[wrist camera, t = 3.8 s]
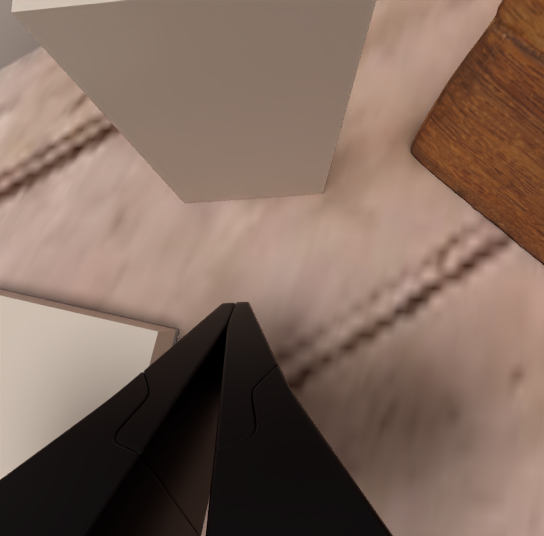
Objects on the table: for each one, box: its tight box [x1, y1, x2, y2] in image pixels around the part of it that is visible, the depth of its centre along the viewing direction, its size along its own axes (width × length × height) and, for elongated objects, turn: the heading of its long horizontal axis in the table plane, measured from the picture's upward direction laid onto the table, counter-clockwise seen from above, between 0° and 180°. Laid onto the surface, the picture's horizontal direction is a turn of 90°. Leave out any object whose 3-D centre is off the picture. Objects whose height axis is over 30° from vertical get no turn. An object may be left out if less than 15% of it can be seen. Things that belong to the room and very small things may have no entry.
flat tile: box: [0, 289, 179, 479], centre depth 15 cm, size 11×8×3 cm
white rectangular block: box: [12, 0, 376, 203], centre depth 12 cm, size 3×8×11 cm, turn 93°
